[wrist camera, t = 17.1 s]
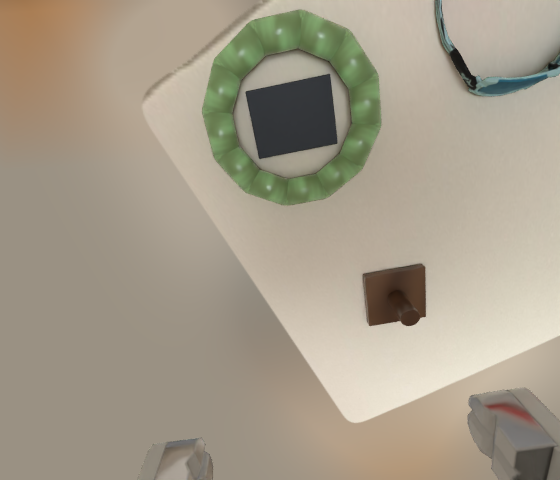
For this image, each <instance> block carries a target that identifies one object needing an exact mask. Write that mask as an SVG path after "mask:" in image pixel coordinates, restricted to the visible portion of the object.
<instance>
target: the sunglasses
mask: <svg viewBox="0 0 560 480" xmlns="http://www.w3.org/2000/svg"><path fill="white" fill-rule="evenodd" d="M435 4H436V18H437V23H438V27H439V31H440V35H441V40H442V44H443V46H444V48H445V49H446V50H447V52H448V53H449V55H450V57H451V59H452V61H453V63H454V65H455V67H456V69H457V70H458V72H459V73H460V75H461V77H462V78H463V80H464V81H465V83H466V84H467V86H468V87H469V90H468V91H470V92H472V93H474V94H477V95H481V96H501V95H505V94H509V93H513V92H516V91H519V90H521V89H527V88H529V87H530V86H532V85H534V84H536V83H538V82H540V81H542V80H544V79H546V78H548V77H556V76H558V75H559V74H560V53H559V55H558V56H557V57H556V58H555V60H554V61H553V62H550V63H549V64H548V66H547V67H546V68H545V69H543V70H542V71H540V72H539V73H538V74H535V75H530V76H526V77H514V78H502V77H487V78H486V79H484V80H481V78H480V76H479V75H478V76H477V77H475V76H473V75H471V73H470V71H469V69H468V68H467V66H466V64H465V62H464V60H463V58H462V56H461V55H460V53H459V52H458V50H457V49H456V48H455V47H454V45H453V43H452V42H451V40H450V39H449V37H448V35H447V31H446V28H445V24H444V19H443V14H442V0H435ZM481 87H482V88H481Z"/></svg>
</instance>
